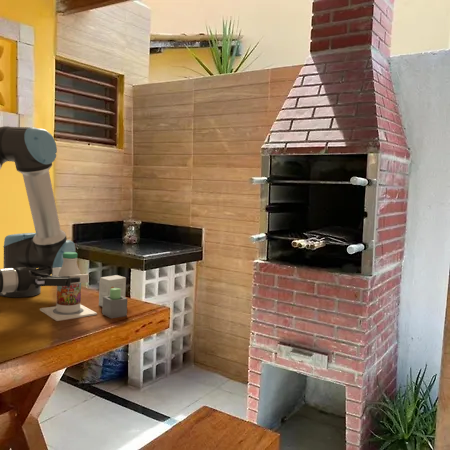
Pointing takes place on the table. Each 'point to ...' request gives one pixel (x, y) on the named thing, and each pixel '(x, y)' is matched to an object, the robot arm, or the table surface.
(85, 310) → the white square plate
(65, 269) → the milk bottle
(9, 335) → the table surface
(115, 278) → the small box
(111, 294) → the button
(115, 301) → the button box
